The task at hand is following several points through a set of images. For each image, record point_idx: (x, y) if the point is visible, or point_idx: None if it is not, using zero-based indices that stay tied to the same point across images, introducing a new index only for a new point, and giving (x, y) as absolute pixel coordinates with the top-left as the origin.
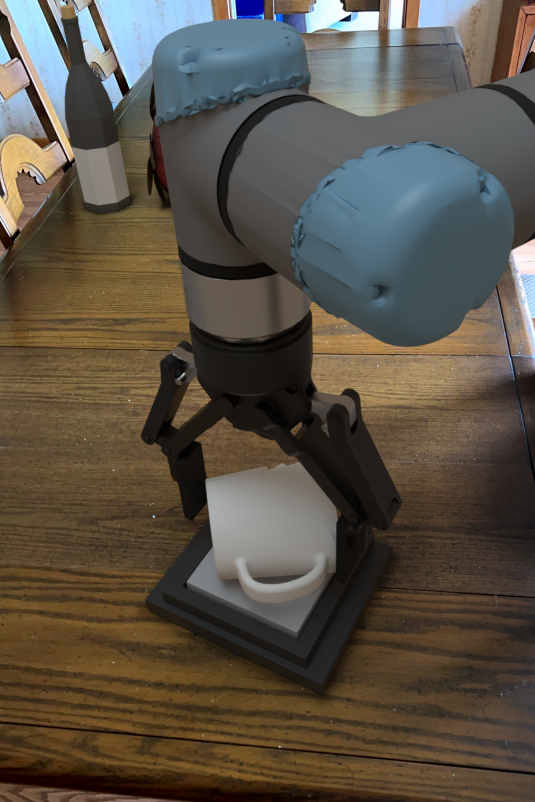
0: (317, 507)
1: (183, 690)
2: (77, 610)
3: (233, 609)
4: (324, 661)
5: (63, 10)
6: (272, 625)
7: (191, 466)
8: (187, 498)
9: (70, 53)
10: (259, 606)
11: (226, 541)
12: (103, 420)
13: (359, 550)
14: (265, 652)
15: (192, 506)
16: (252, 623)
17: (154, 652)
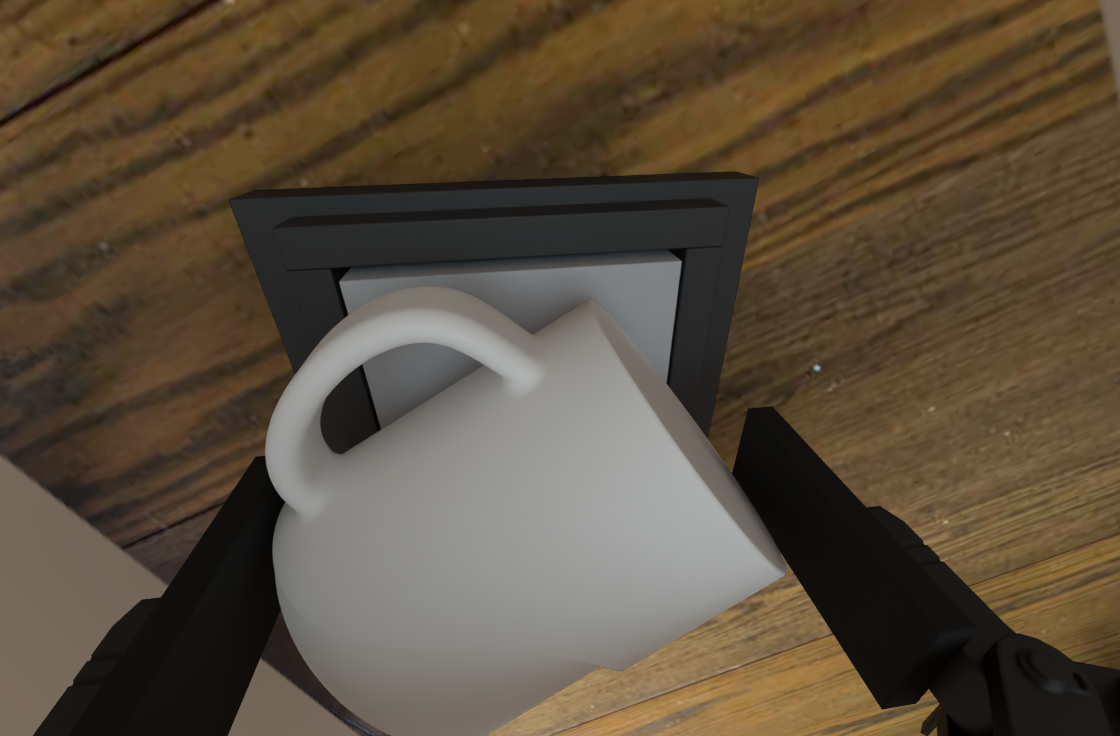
0: (370, 664)
1: (546, 12)
2: (903, 78)
3: (536, 260)
4: (272, 258)
5: None
6: (418, 270)
7: (867, 606)
8: (806, 474)
9: None
10: (472, 295)
11: (593, 423)
12: (982, 475)
13: (142, 610)
14: (406, 204)
15: (772, 450)
16: (462, 247)
17: (670, 75)
